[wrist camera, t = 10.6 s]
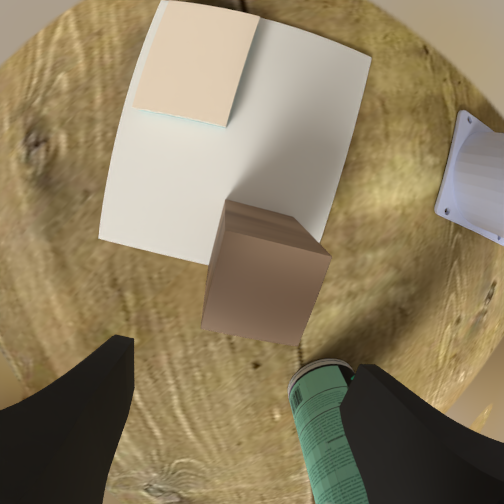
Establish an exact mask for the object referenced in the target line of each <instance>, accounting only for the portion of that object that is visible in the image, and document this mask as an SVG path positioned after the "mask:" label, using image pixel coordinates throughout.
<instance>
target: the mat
mask: <svg viewBox="0 0 504 504" xmlns="http://www.w3.org/2000/svg"><path fill="white" fill-rule="evenodd" d="M168 2H169V1H163V0H161V2H160V4H159V7H158V9H157V11H156V14H155V16H154V18H153V21H152V23H151V26H150V29H149V31H148V34H147V36H146V39H145V42H144V44H143V47H142V50H141V53H140V56H139V59H138V62H137V65H136V68H135V71H134V74H133V77H132V80H131V83H130V87H129V90H128V93H127V97H126V100H125V104H124V108H123V111H122V115H121V119H120V123H119V127H118V131H117V135H116V139H115V144H114V148H113V153H112V157H111V162H110V167H109V172H108V178H107V183H106V189H105V195H104V201H103V207H102V214H101V221H100V229H99V237H98V239H102V240H106V241H110V242H114V243H118V244H122V245H126V246H130V247H134V248H139V249H143V250H147V251H151V252H155V253H159V254H163V255H168V256H172V257H176V258H180V259H184V260H189V261H193V262H197V263H201V264H206V265H209V262H210V257H211V253H212V249H213V245H214V241H215V237H216V233H217V229H218V225H219V221H220V218H221V214H222V210H223V206H224V202H225V199H227V200H231V201H235V202H239V203H243V204H247V205H250V206H254V207H258V208H262V209H266V210H270V211H273V212H277V213H281V214H285V215H288V216H292V217H294V218H295V219H296V220H297V221H298V222H299V223H300V224H301V225H302V226H303V227H304V228H305V229H306V230H307V231H308V232H309V233H310V234H311V235H312V236H313V237H314V238H315V239H316V240H317V241H318V242H319V243H320V240H321V237H322V234H323V231H324V228H325V225H326V222H327V219H328V215H329V212H330V209H331V206H332V203H333V199H334V196H335V193H336V190H337V186H338V183H339V180H340V176H341V173H342V170H343V166H344V163H345V159H346V156H347V152H348V149H349V145H350V142H351V138H352V134H353V131H354V127H355V123H356V120H357V116H358V112H359V108H360V104H361V100H362V96H363V92H364V88H365V84H366V80H367V76H368V72H369V68H370V63H371V59H372V57H370V56H367V55H365V54H363V53H361V52H358V51H356V50H354V49H352V48H349V47H347V46H344V45H342V44H339V43H337V42H334V41H332V40H329V39H327V38H324V37H321V36H318V35H316V34H313V33H310V32H307V31H304V30H301V29H298V28H295V27H292V26H289V25H285V24H282V23H279V22H275V21H271V20H268V19H264V18H260V19H259V23H258V26H257V29H256V32H255V35H254V38H253V41H252V44H251V47H250V50H249V53H248V57H247V60H246V63H245V66H244V69H243V72H242V76H241V79H240V82H239V85H238V89H237V92H236V95H235V99H234V102H233V105H232V109H231V112H230V116H229V119H228V123H227V126H226V128H223V127H219V126H215V125H210V124H206V123H201V122H197V121H192V120H188V119H183V118H178V117H173V116H168V115H163V114H157V113H152V112H146V111H140V110H137V109H135V108H133V107H132V105H133V101H134V98H135V94H136V91H137V87H138V84H139V81H140V78H141V75H142V71H143V68H144V65H145V62H146V59H147V56H148V54H149V51H150V48H151V45H152V42H153V40H154V37H155V34H156V32H157V29H158V27H159V24H160V21H161V19H162V17H163V14H164V12H165V9H166V7H167V5H168Z"/></svg>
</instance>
